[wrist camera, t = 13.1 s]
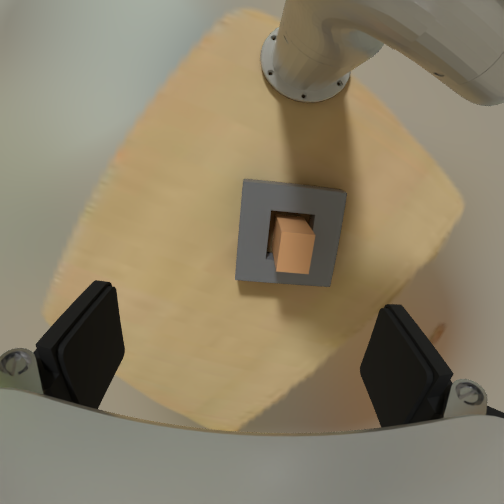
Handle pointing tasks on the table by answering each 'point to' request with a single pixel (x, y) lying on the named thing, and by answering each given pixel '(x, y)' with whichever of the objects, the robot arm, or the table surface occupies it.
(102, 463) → the robot arm
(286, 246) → the plug
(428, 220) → the table surface
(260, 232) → the socket plate
